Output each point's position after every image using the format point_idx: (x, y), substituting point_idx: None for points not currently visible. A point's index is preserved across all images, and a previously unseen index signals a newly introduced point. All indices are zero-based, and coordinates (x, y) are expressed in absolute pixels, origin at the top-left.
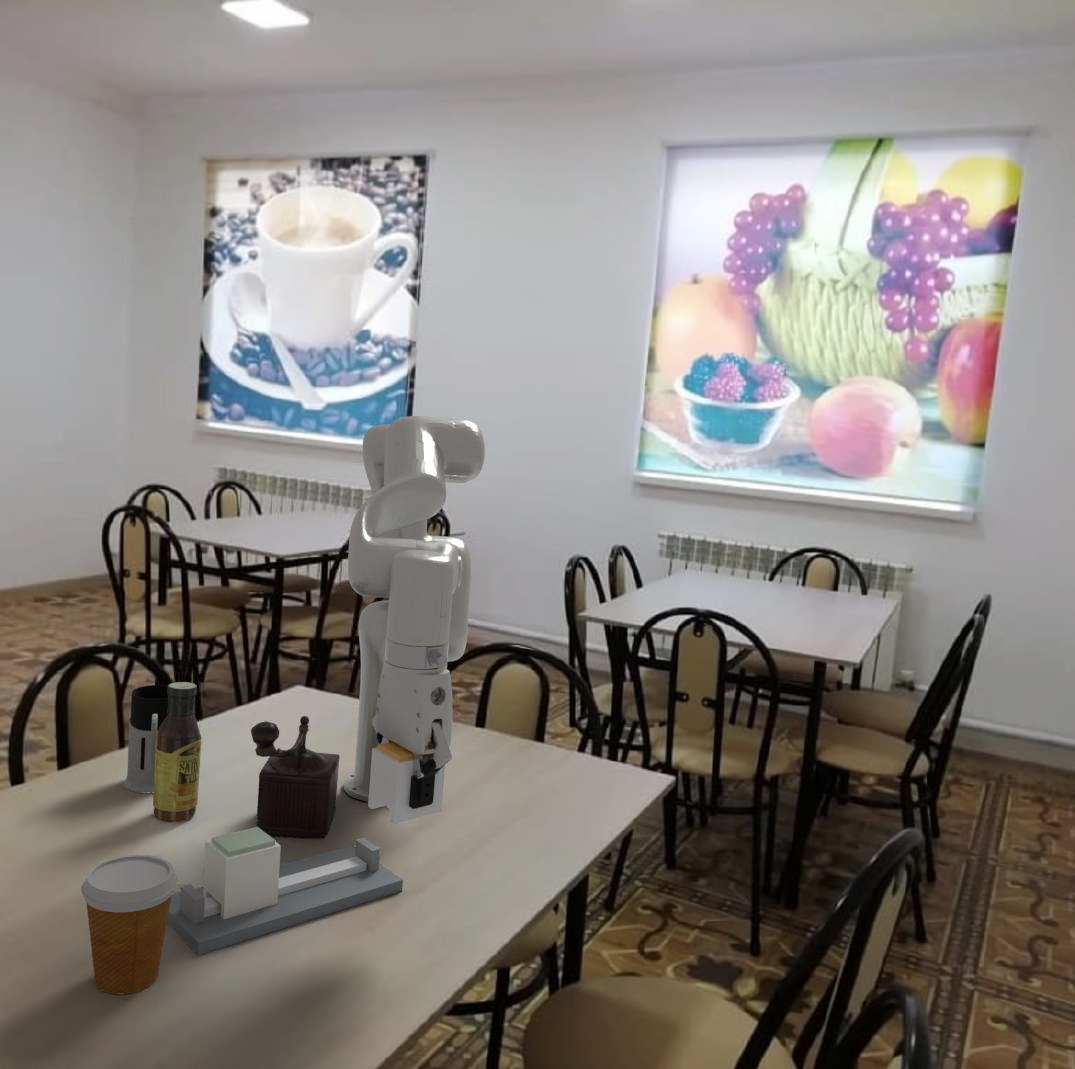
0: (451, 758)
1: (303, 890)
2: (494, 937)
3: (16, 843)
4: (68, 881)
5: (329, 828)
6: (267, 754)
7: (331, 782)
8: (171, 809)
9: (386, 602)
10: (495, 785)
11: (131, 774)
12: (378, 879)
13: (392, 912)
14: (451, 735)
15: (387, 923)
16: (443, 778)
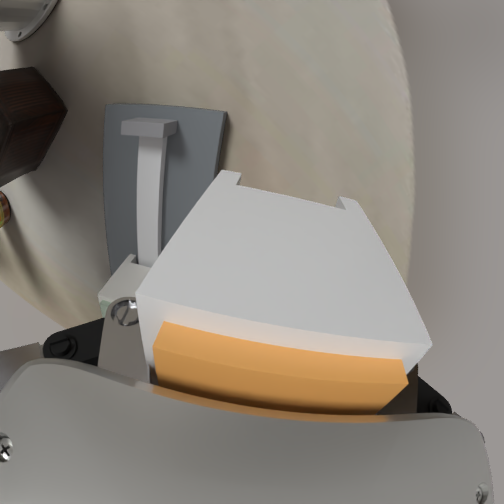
0: (482, 436)
1: (164, 228)
2: (399, 128)
3: (24, 297)
4: (68, 311)
5: (55, 93)
6: None
7: (11, 107)
8: (2, 223)
9: None
10: None
11: None
12: (198, 138)
13: (261, 163)
14: (490, 474)
15: (277, 187)
16: (388, 257)
